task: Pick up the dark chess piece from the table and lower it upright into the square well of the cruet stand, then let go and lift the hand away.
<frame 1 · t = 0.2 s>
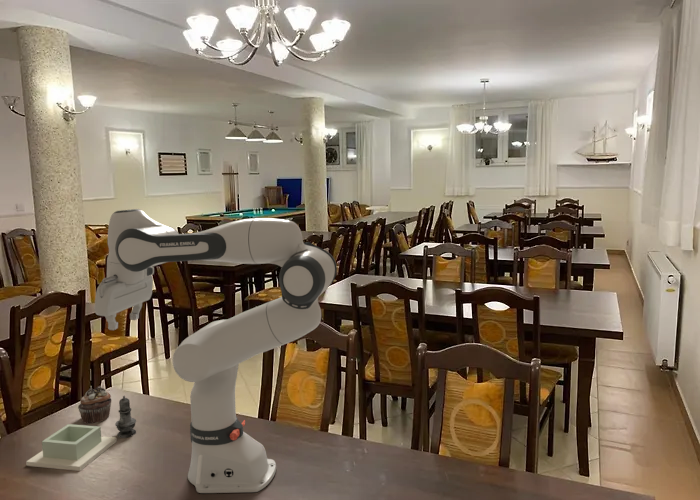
hand: (124, 324, 138), 39 cm above the table, tool pointing down, fingers open, 8 cm apart
cruet stand: (73, 453, 150), on the table
dark chess piece: (126, 434, 161), on the table
cupcake: (95, 418, 172), on the table
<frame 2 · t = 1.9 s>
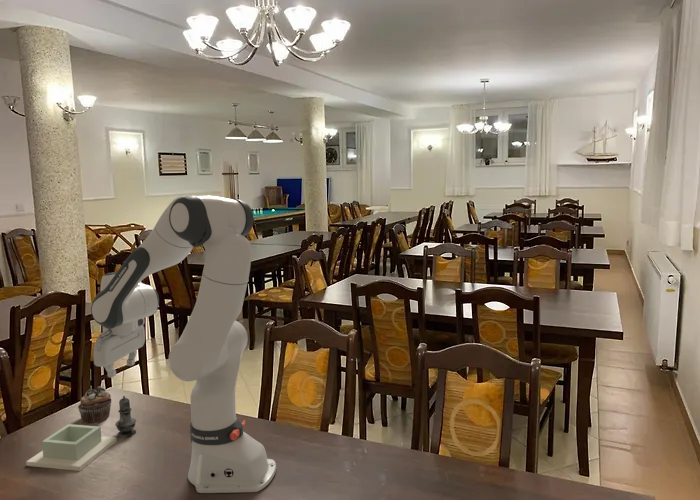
hand: (121, 370, 159), 20 cm above the table, tool pointing down, fingers open, 8 cm apart
nothing on the table moved.
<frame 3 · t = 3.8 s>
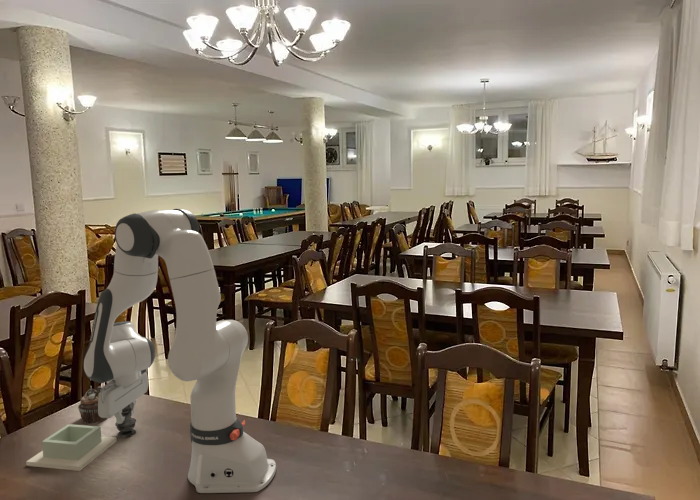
hand: (125, 418, 160), 5 cm above the table, tool pointing down, fingers closed on dark chess piece, 3 cm apart
dark chess piece: (126, 434, 161), on the table, touching gripper
everything else where it was.
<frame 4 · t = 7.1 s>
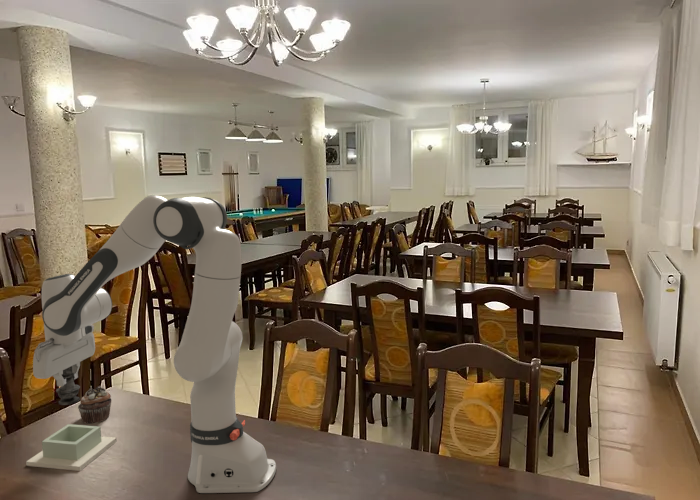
hand: (67, 382, 147), 21 cm above the table, tool pointing down, fingers closed on dark chess piece, 3 cm apart
dark chess piece: (69, 401, 148), point 15 cm above the table, touching gripper
everything else where it was.
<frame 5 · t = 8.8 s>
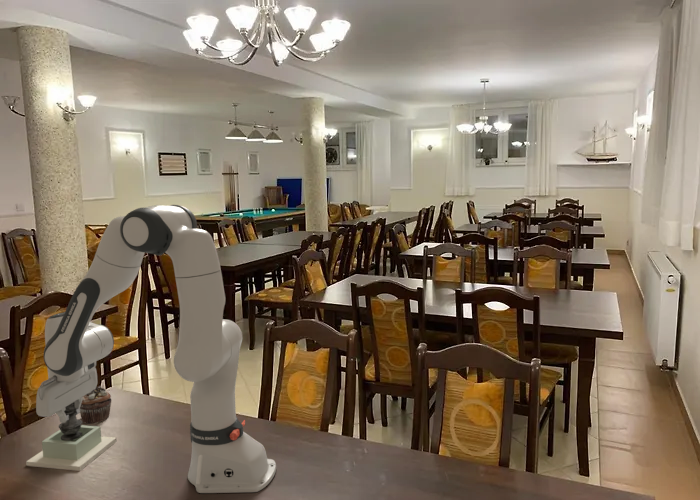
hand: (70, 417, 148), 10 cm above the table, tool pointing down, fingers closed on dark chess piece, 3 cm apart
dark chess piece: (71, 436, 149), point 5 cm above the table, touching gripper
everything else where it was.
when the fingers open (8 cm above the table, at t = 10.2 s): dark chess piece stays where it is, resting on cruet stand.
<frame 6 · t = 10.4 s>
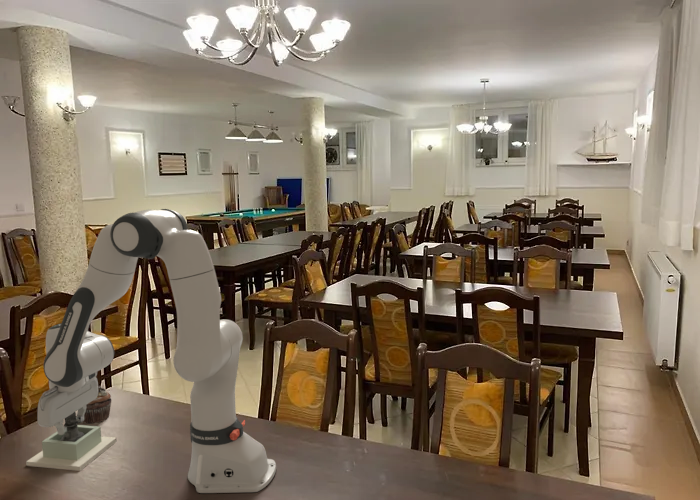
hand: (71, 427, 149), 8 cm above the table, tool pointing down, fingers open, 6 cm apart
dark chess piece: (73, 449, 150), point 1 cm above the table, touching cruet stand
everything else where it was.
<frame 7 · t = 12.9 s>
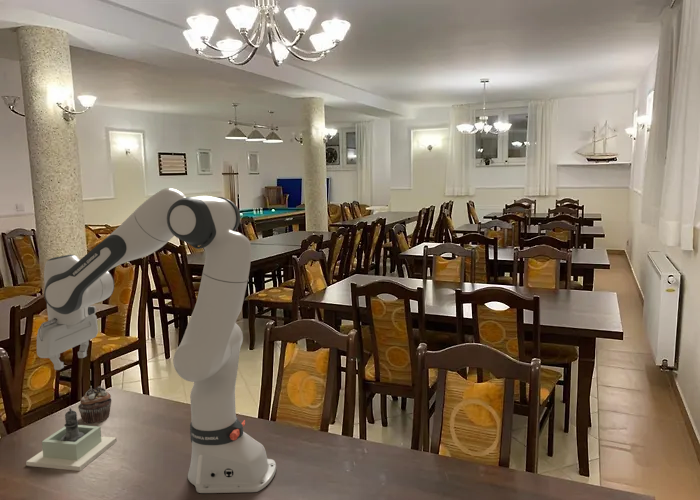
hand: (71, 363, 147), 26 cm above the table, tool pointing down, fingers open, 8 cm apart
nothing on the table moved.
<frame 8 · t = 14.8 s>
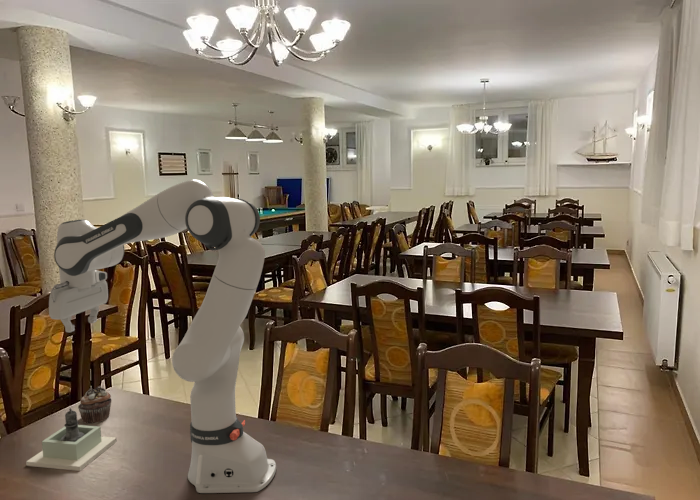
hand: (81, 326, 150), 35 cm above the table, tool pointing down, fingers open, 8 cm apart
nothing on the table moved.
at the end: dark chess piece 0.1 cm off-centre on the cruet stand, point 1.0 cm above the cruet stand's base; dark chess piece tilted 0°; the gripper is holding nothing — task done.
